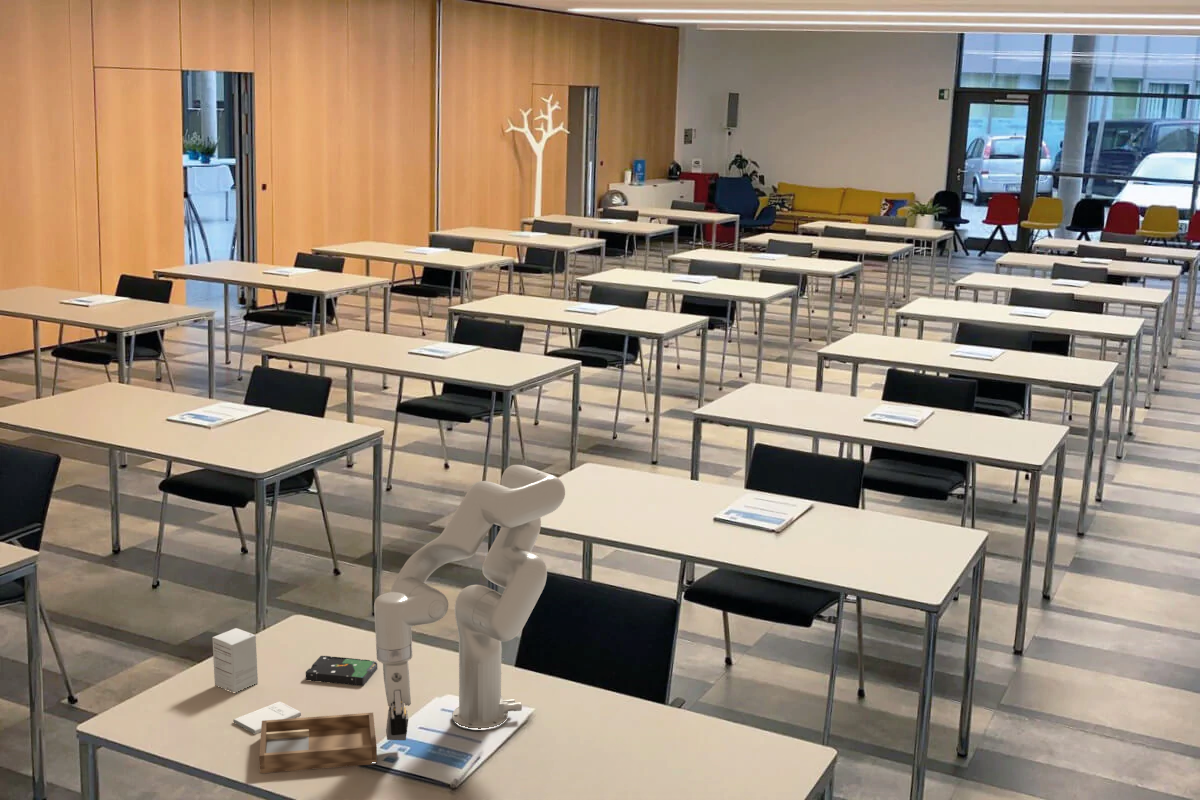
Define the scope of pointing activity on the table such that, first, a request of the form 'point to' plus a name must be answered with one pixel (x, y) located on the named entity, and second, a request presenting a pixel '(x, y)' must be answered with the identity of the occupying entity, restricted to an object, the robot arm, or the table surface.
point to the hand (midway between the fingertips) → (398, 728)
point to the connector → (388, 728)
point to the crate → (317, 742)
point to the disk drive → (341, 670)
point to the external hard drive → (266, 716)
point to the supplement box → (235, 660)
